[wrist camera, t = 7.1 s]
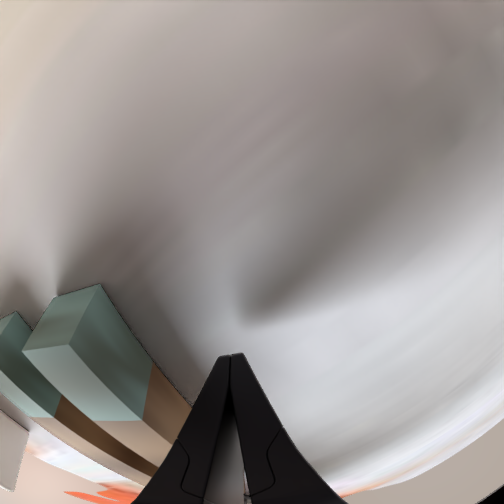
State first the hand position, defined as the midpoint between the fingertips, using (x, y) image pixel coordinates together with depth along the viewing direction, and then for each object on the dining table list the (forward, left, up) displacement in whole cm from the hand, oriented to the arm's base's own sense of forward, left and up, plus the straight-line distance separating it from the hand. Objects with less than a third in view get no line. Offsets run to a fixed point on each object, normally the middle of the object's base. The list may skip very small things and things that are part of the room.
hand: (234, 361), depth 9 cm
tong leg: (-4, +5, -1) cm, 7 cm away
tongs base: (-6, +9, -1) cm, 10 cm away
